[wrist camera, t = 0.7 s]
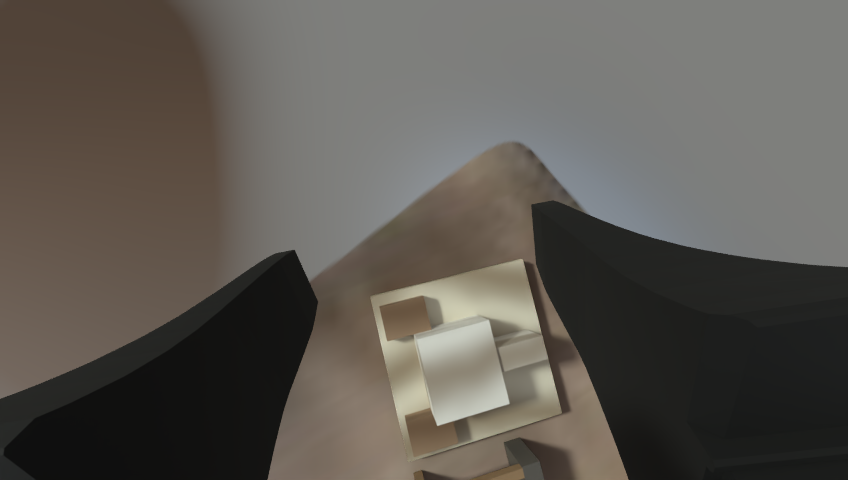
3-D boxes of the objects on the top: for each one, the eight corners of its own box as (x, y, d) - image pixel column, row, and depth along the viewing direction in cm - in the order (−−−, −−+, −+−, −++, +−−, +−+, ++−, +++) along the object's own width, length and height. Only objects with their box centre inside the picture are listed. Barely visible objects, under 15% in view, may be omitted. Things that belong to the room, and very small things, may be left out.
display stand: (554, 407, 36) (585, 431, 31) (406, 454, 34) (412, 488, 29) (516, 259, 37) (540, 257, 32) (370, 295, 35) (369, 300, 29)
